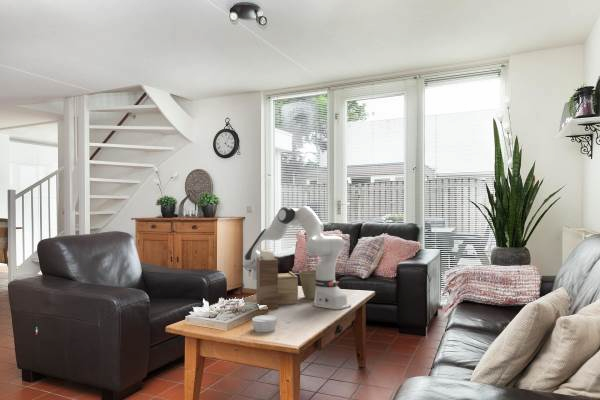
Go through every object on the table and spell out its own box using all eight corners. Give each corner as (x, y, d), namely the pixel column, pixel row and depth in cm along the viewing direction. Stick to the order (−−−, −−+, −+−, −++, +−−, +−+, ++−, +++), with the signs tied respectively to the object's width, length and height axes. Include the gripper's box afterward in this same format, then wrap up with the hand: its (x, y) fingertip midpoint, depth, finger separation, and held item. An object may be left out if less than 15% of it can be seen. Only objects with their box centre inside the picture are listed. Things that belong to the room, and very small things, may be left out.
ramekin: (253, 334, 186) (253, 322, 186) (250, 327, 196) (250, 315, 197) (278, 332, 188) (278, 320, 188) (274, 325, 199) (274, 314, 199)
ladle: (274, 260, 229) (274, 251, 229) (263, 260, 228) (263, 252, 228) (267, 255, 253) (267, 247, 253) (257, 255, 252) (257, 247, 252)
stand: (302, 307, 233) (302, 257, 234) (259, 310, 228) (259, 259, 228) (290, 295, 266) (290, 251, 266) (252, 297, 260) (252, 252, 261)
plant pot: (323, 300, 252) (323, 273, 252) (298, 300, 252) (298, 273, 253) (322, 295, 267) (322, 269, 267) (299, 295, 267) (299, 269, 267)
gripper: (242, 263, 268) (244, 254, 256) (274, 262, 273) (277, 253, 261) (243, 272, 265) (244, 264, 253) (275, 271, 269) (278, 263, 258)
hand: (261, 258), depth 257 cm, fingers open, 8 cm apart
